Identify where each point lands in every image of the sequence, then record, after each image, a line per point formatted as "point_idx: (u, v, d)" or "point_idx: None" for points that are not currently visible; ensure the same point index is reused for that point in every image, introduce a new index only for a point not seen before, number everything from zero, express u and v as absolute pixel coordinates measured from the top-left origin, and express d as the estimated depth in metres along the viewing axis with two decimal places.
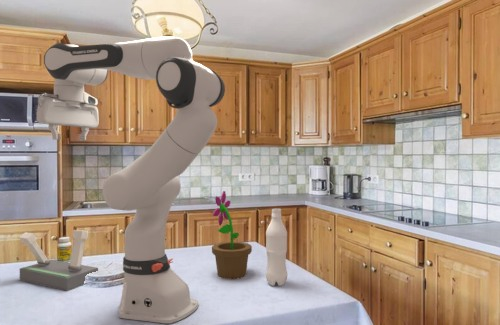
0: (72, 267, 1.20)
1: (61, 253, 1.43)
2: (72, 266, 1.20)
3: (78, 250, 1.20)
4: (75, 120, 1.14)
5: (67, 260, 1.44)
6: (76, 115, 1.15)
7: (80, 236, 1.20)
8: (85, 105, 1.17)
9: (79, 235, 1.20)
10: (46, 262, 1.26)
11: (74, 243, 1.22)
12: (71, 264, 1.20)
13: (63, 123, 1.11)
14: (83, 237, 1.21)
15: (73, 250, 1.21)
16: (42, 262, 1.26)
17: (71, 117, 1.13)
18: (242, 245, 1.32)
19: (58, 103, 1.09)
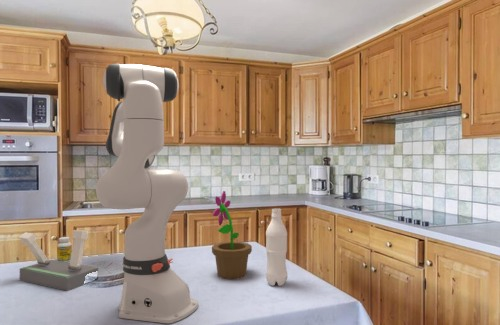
0: (72, 267, 1.20)
1: (61, 253, 1.43)
2: (72, 266, 1.20)
3: (78, 250, 1.20)
4: None
5: (67, 260, 1.44)
6: None
7: (80, 236, 1.20)
8: None
9: (79, 235, 1.20)
10: (46, 262, 1.26)
11: (74, 243, 1.22)
12: (71, 264, 1.20)
13: None
14: (83, 237, 1.21)
15: (73, 250, 1.21)
16: (42, 262, 1.26)
17: None
18: (242, 245, 1.32)
19: None
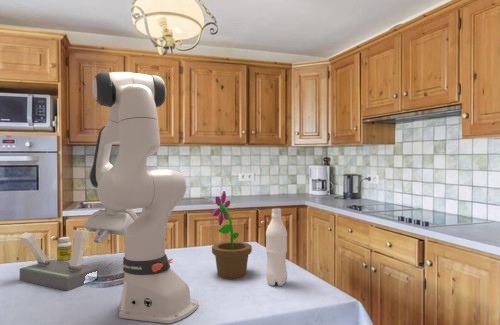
0: (72, 267, 1.20)
1: (61, 253, 1.43)
2: (72, 266, 1.20)
3: (78, 250, 1.20)
4: (105, 224, 1.31)
5: (67, 260, 1.44)
6: (108, 221, 1.32)
7: (80, 236, 1.20)
8: (117, 212, 1.32)
9: (79, 235, 1.20)
10: (46, 262, 1.26)
11: (74, 243, 1.22)
12: (71, 264, 1.20)
13: (95, 226, 1.32)
14: (83, 237, 1.21)
15: (73, 250, 1.21)
16: (42, 262, 1.26)
17: (103, 222, 1.32)
18: (242, 245, 1.32)
19: (100, 213, 1.36)
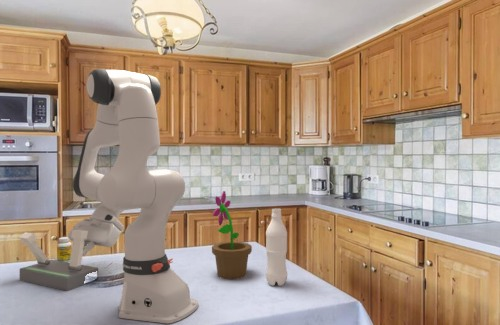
0: (72, 267, 1.20)
1: (61, 253, 1.43)
2: (72, 266, 1.20)
3: (78, 250, 1.20)
4: (89, 235, 1.25)
5: (67, 260, 1.44)
6: (93, 231, 1.26)
7: (79, 236, 1.20)
8: (102, 222, 1.26)
9: (78, 236, 1.20)
10: (46, 262, 1.26)
11: (73, 243, 1.21)
12: (71, 264, 1.20)
13: None
14: (82, 237, 1.21)
15: (73, 250, 1.21)
16: (42, 262, 1.26)
17: None
18: (242, 245, 1.32)
19: (85, 223, 1.30)
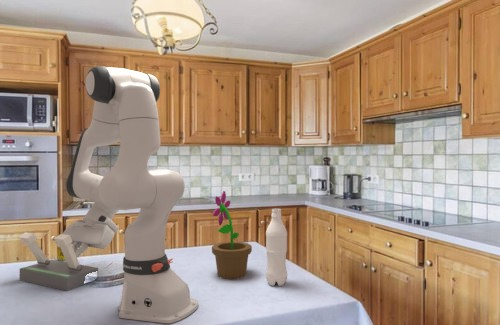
0: (72, 268, 1.20)
1: (61, 253, 1.43)
2: (71, 267, 1.20)
3: (69, 255, 1.17)
4: (82, 237, 1.22)
5: None
6: (86, 233, 1.23)
7: (64, 244, 1.15)
8: (95, 223, 1.23)
9: (63, 243, 1.15)
10: (46, 262, 1.26)
11: (61, 248, 1.17)
12: (70, 266, 1.20)
13: (72, 239, 1.23)
14: (67, 243, 1.15)
15: (65, 255, 1.18)
16: (42, 262, 1.26)
17: (81, 234, 1.23)
18: (242, 245, 1.32)
19: (78, 224, 1.28)
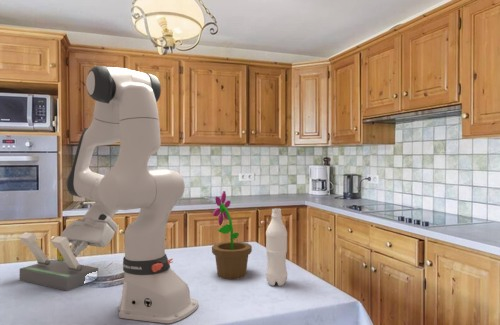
0: (72, 269, 1.20)
1: None
2: (71, 268, 1.20)
3: (68, 256, 1.17)
4: (82, 235, 1.22)
5: None
6: (86, 231, 1.23)
7: (61, 247, 1.14)
8: (95, 222, 1.24)
9: (60, 246, 1.14)
10: (46, 262, 1.26)
11: (59, 250, 1.17)
12: (70, 266, 1.20)
13: (72, 237, 1.23)
14: (65, 245, 1.15)
15: (63, 256, 1.18)
16: (42, 262, 1.26)
17: (80, 233, 1.23)
18: (242, 245, 1.32)
19: (78, 223, 1.28)
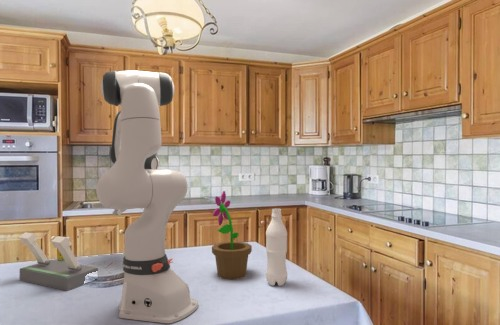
0: (72, 269, 1.20)
1: None
2: (71, 268, 1.20)
3: (68, 256, 1.17)
4: None
5: None
6: None
7: (61, 247, 1.14)
8: None
9: (60, 246, 1.14)
10: (46, 262, 1.26)
11: (59, 250, 1.17)
12: (70, 266, 1.20)
13: None
14: (65, 245, 1.15)
15: (63, 256, 1.18)
16: (42, 262, 1.26)
17: None
18: (242, 245, 1.32)
19: None
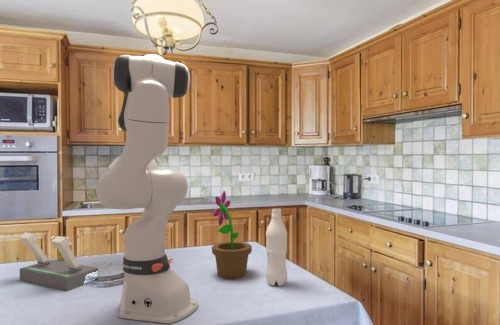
0: (72, 269, 1.20)
1: None
2: (71, 268, 1.20)
3: (68, 256, 1.17)
4: None
5: None
6: None
7: (61, 247, 1.14)
8: None
9: (60, 246, 1.14)
10: (46, 262, 1.26)
11: (59, 250, 1.17)
12: (70, 266, 1.20)
13: None
14: (65, 245, 1.15)
15: (63, 256, 1.18)
16: (42, 262, 1.26)
17: None
18: (242, 245, 1.32)
19: None
